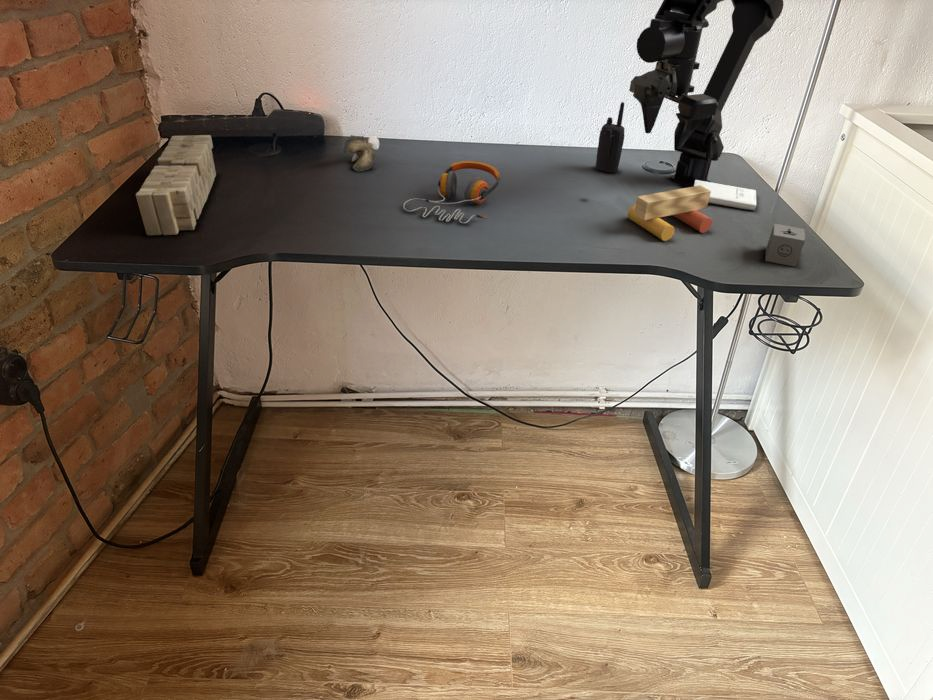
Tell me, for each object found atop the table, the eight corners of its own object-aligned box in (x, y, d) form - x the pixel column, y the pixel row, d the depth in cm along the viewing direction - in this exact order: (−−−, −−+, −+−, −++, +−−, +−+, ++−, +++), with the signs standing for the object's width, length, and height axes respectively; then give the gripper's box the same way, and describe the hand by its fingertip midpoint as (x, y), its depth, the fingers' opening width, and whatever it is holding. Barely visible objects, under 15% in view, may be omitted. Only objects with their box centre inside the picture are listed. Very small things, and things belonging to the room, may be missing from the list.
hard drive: (693, 186, 146) (753, 196, 144) (690, 200, 140) (754, 211, 137) (695, 178, 145) (756, 188, 143) (692, 193, 139) (756, 204, 136)
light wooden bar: (696, 202, 132) (700, 185, 130) (706, 208, 130) (711, 190, 128) (633, 214, 127) (637, 196, 125) (643, 220, 124) (647, 202, 122)
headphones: (395, 199, 129) (442, 145, 140) (399, 222, 132) (444, 167, 144) (477, 219, 123) (518, 161, 135) (478, 242, 127) (518, 184, 139)
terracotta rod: (674, 210, 136) (678, 196, 134) (709, 231, 129) (713, 216, 127) (663, 213, 135) (666, 198, 133) (697, 234, 128) (701, 219, 126)
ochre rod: (638, 217, 133) (641, 203, 131) (672, 239, 125) (676, 224, 124) (626, 220, 131) (628, 205, 130) (659, 242, 124) (662, 227, 122)
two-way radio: (620, 170, 153) (632, 102, 144) (612, 176, 150) (624, 107, 141) (597, 165, 155) (608, 97, 146) (589, 171, 152) (600, 101, 143)
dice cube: (765, 260, 120) (773, 234, 117) (765, 249, 124) (774, 223, 121) (795, 266, 118) (804, 240, 116) (795, 254, 122) (804, 228, 119)
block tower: (193, 239, 120) (219, 172, 143) (183, 194, 115) (212, 132, 138) (146, 240, 119) (179, 172, 142) (134, 194, 114) (171, 132, 137)
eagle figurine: (341, 150, 153) (333, 156, 145) (358, 123, 151) (351, 128, 142) (370, 170, 155) (364, 178, 147) (387, 144, 152) (382, 150, 144)
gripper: (613, 47, 128) (601, 130, 138) (679, 71, 115) (660, 161, 124) (660, 43, 133) (645, 124, 142) (729, 66, 119) (707, 154, 128)
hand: (662, 140), depth 134 cm, fingers open, 9 cm apart
